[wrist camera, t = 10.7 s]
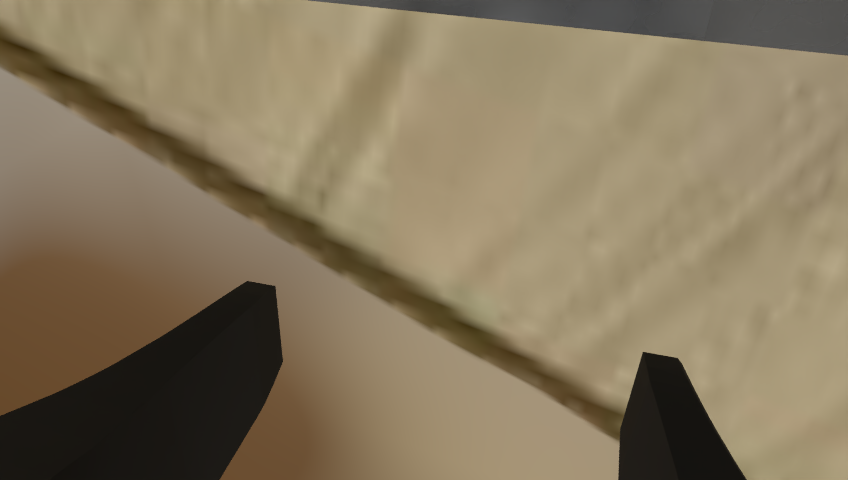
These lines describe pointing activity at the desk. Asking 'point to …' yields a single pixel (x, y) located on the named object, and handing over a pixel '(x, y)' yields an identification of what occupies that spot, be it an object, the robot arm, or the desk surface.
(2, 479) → the robot arm
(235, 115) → the desk surface
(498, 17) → the keyhole plate
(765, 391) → the desk surface
